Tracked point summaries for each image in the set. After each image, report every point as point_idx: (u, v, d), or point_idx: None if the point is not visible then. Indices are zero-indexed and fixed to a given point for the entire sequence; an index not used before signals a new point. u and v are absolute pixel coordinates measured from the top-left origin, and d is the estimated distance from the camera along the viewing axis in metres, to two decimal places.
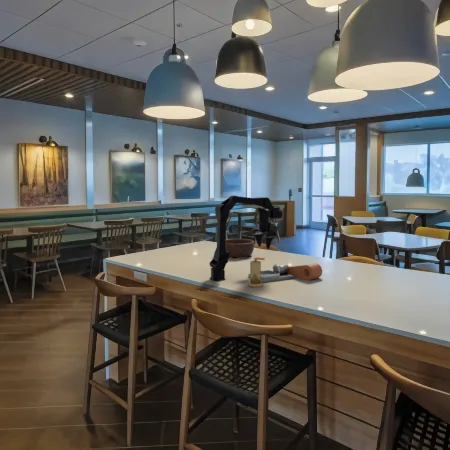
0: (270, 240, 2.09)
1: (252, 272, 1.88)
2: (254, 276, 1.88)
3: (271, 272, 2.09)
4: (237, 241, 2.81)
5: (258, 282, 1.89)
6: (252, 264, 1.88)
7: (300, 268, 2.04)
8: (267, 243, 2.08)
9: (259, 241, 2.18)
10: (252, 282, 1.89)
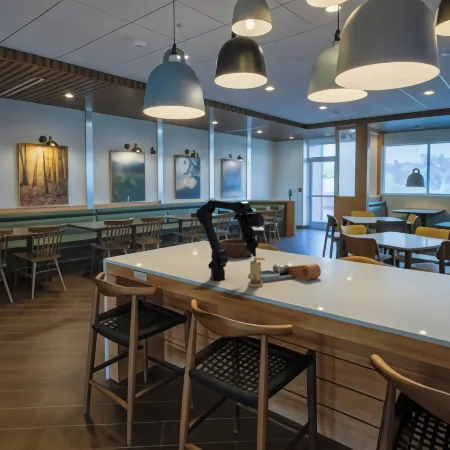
0: (254, 249, 1.90)
1: (252, 272, 1.88)
2: (254, 276, 1.88)
3: (271, 272, 2.09)
4: (237, 241, 2.81)
5: (258, 282, 1.89)
6: (252, 264, 1.88)
7: (299, 268, 2.04)
8: (251, 252, 1.91)
9: None
10: (252, 282, 1.89)
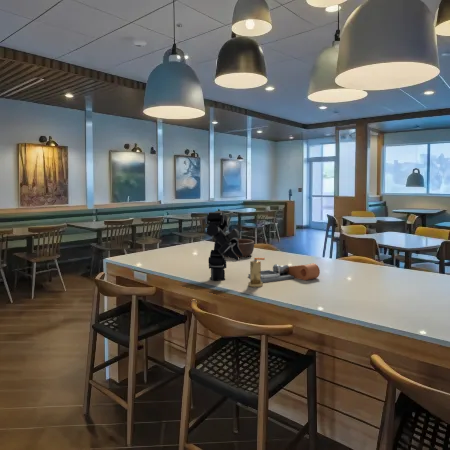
0: (231, 252, 1.86)
1: (252, 272, 1.88)
2: (254, 276, 1.88)
3: (271, 272, 2.09)
4: None
5: (258, 282, 1.89)
6: (252, 264, 1.88)
7: (298, 268, 2.04)
8: (231, 256, 1.87)
9: (238, 252, 1.97)
10: (252, 282, 1.89)
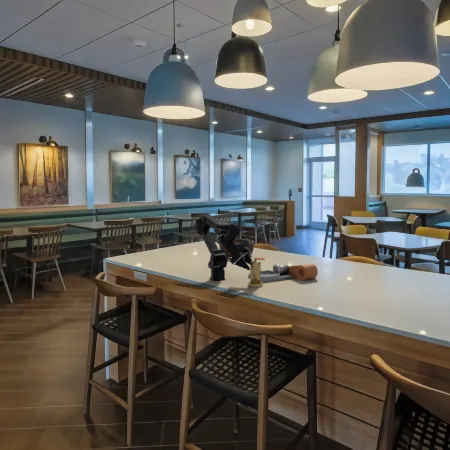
0: (243, 262, 1.85)
1: (252, 272, 1.88)
2: (254, 276, 1.88)
3: (271, 272, 2.09)
4: (237, 241, 2.81)
5: (258, 282, 1.89)
6: (252, 264, 1.88)
7: (296, 268, 2.04)
8: (242, 266, 1.86)
9: (249, 261, 1.95)
10: (252, 282, 1.89)
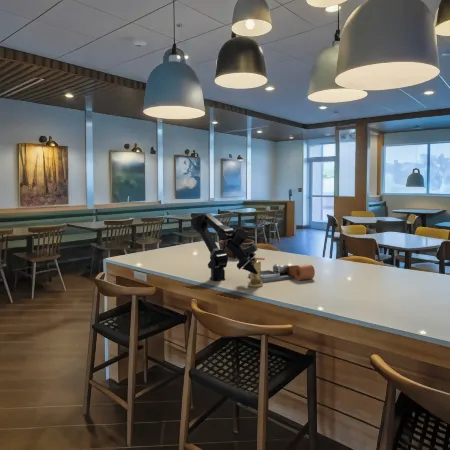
0: (250, 266, 1.86)
1: None
2: (254, 276, 1.88)
3: (271, 272, 2.09)
4: None
5: (258, 282, 1.89)
6: (252, 264, 1.88)
7: (293, 268, 2.04)
8: (250, 270, 1.87)
9: None
10: (252, 282, 1.89)
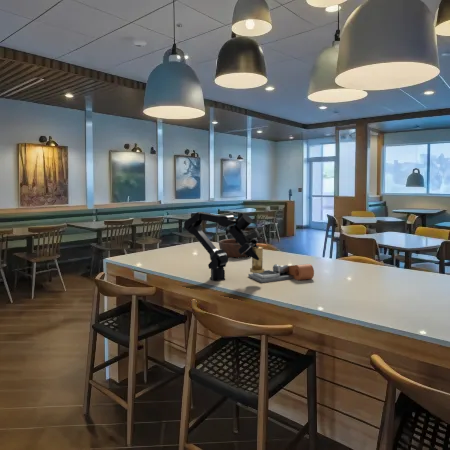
0: (252, 251, 1.88)
1: None
2: (255, 262, 1.90)
3: (271, 272, 2.09)
4: None
5: (259, 268, 1.90)
6: (254, 250, 1.90)
7: (293, 267, 2.05)
8: (252, 256, 1.89)
9: None
10: (253, 268, 1.91)
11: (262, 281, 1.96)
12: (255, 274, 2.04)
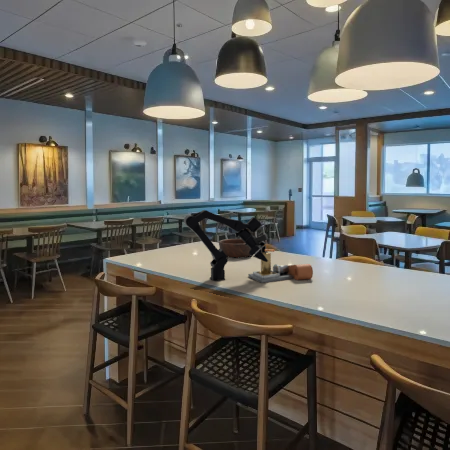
0: (261, 254, 1.98)
1: (263, 263, 2.02)
2: (264, 266, 2.02)
3: None
4: (237, 241, 2.81)
5: (268, 272, 2.02)
6: None
7: (292, 267, 2.05)
8: (261, 258, 1.99)
9: None
10: (263, 272, 2.03)
11: (262, 281, 1.96)
12: (255, 274, 2.04)
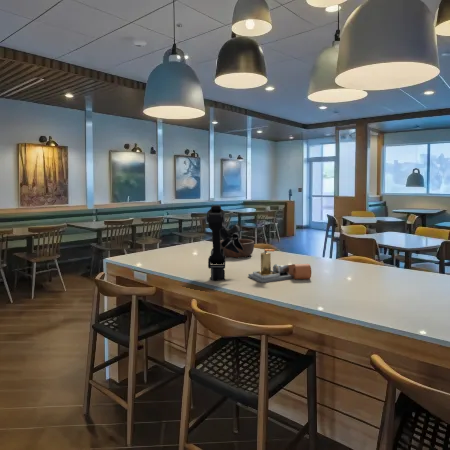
0: (232, 245, 2.06)
1: (263, 263, 2.02)
2: (264, 266, 2.02)
3: None
4: None
5: (268, 272, 2.02)
6: (262, 255, 2.02)
7: (292, 266, 2.07)
8: (232, 249, 2.06)
9: (239, 245, 2.16)
10: (263, 272, 2.03)
11: (262, 281, 1.96)
12: (255, 274, 2.04)
